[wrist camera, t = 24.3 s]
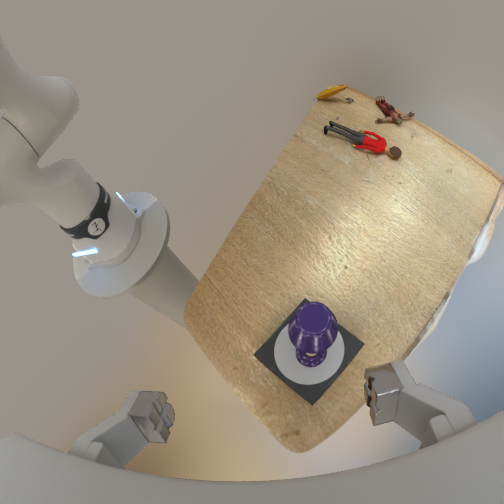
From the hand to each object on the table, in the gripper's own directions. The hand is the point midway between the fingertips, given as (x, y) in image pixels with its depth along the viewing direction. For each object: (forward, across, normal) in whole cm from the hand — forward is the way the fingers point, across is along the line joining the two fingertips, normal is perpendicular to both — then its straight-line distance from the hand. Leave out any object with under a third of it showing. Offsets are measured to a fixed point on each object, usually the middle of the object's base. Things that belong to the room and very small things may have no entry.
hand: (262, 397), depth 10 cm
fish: (+68, -23, -27) cm, 77 cm away
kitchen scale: (+26, -2, +18) cm, 32 cm away
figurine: (+65, -34, -22) cm, 77 cm away
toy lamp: (+24, -3, +16) cm, 29 cm away
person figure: (+58, -16, -15) cm, 62 cm away
